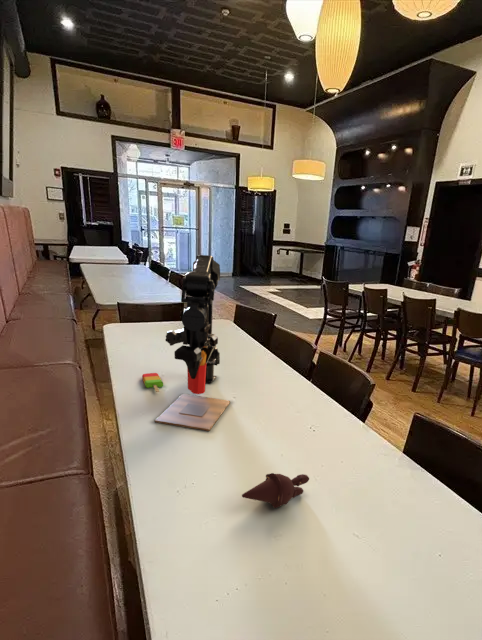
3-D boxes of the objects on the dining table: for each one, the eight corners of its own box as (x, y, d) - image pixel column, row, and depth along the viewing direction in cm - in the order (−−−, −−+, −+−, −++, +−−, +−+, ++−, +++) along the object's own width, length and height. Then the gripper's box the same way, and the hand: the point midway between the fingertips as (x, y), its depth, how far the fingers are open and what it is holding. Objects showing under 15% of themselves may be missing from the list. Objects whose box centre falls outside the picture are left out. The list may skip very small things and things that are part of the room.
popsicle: (157, 377, 146) (157, 372, 146) (166, 393, 134) (166, 388, 133) (141, 378, 144) (141, 373, 143) (149, 395, 131) (148, 389, 131)
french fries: (185, 386, 123) (184, 347, 118) (197, 384, 125) (197, 346, 120) (196, 396, 116) (196, 355, 112) (208, 394, 118) (209, 354, 114)
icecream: (253, 498, 77) (319, 486, 84) (239, 469, 82) (302, 460, 89) (244, 522, 80) (309, 509, 88) (232, 493, 86) (293, 482, 93)
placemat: (182, 395, 133) (182, 393, 133) (230, 402, 131) (230, 400, 131) (154, 422, 115) (154, 420, 115) (209, 431, 113) (209, 429, 112)
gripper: (183, 311, 123) (183, 361, 129) (154, 325, 106) (156, 382, 112) (219, 315, 121) (217, 365, 127) (196, 331, 104) (195, 388, 110)
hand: (197, 374), depth 119 cm, fingers closed on french fries, 6 cm apart
